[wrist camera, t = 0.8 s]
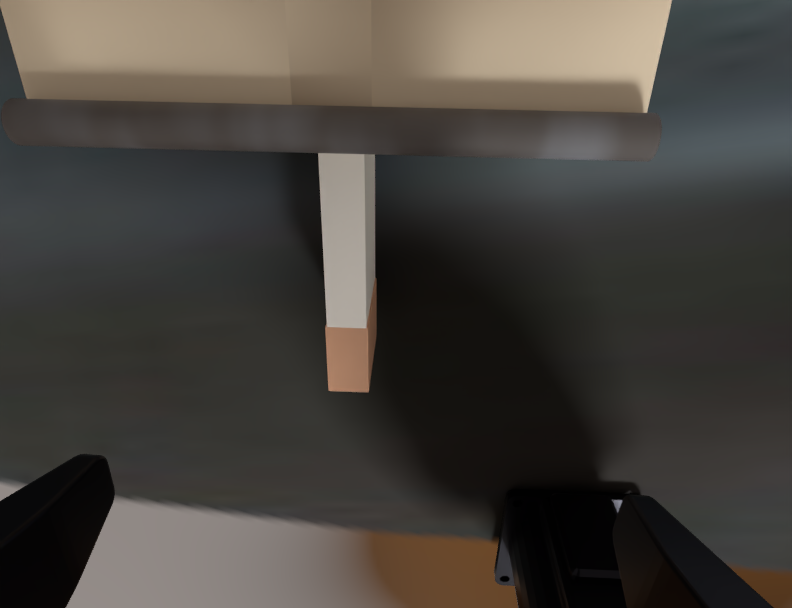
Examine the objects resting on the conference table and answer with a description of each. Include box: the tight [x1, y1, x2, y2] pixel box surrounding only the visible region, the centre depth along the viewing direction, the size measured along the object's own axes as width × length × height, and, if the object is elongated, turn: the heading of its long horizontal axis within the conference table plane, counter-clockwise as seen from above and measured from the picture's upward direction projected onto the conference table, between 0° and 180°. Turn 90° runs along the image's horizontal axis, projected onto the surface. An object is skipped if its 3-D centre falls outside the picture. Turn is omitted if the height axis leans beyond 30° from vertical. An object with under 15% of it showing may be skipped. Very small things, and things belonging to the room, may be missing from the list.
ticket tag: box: [318, 153, 377, 392], centre depth 15 cm, size 16×1×4 cm, turn 179°
